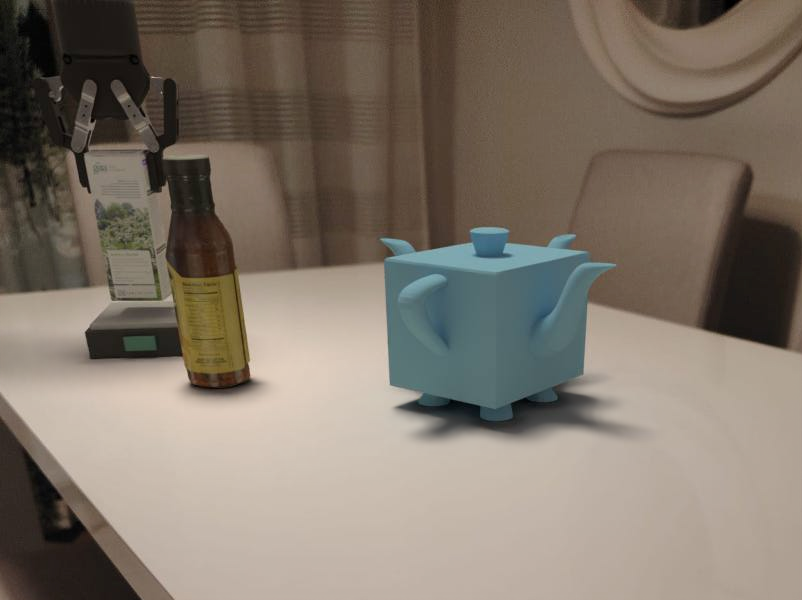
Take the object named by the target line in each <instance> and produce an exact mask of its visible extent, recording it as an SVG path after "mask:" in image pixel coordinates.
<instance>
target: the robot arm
mask: <svg viewBox="0 0 802 600" xmlns="http://www.w3.org/2000/svg"><path fill="white" fill-rule="evenodd" d="M50 3H51V8H52V12H53V17H54V23H55V28H56V29H55V30H56V34H57V41H58V44H59V45H58V46H59V49H60V54H61V60H62V61H61V62H62V63H61V64H62V65H61V70H60V72H59V73H60V74H59V75H56V76H50V77H43V76H42V77H40V76H39V77H35V78H34V79H32V82H31V83H32V87H33V90H34V93H35V96H36V99H37V102H38V105H39V109H40V111H41V114H42V117H43V120H44V123H45V126H46V129H47V131H48V134H49V137H50V140H51V142H52V144H53V145H55V146H57V147H63V148H65V149H68V150H70V151H71V152H72V155H74V161H75V165H76V170H77V175H78V181H79V184H80V185H81V188H86V190H87V193H88V194H89V195H91V190H90V185H89V180H88V174H87V169H86V164H85V158H84V156H85V155H84V154H85V153H86V152H88V151H90V149H89V148H90V147H89V146H90V142H91V139H92V134H93V131H94V129H95V125H96V122H97V121H105V120H109V119H115V120H118V121H130V123H131V125H132V126H133V127H134V129H135V131H136V132H137V133H138V135H139V136H140V138H141V140H142V142H143V143H144V144H145V147H146V148H147V149H148V151H149V153H147V160H148V166H149V173H150V179H151V185H152V191H153V193H159V194H161V193H162V192H163V187H165V186H167V183H168V182H167V178H166V176H165V174H164V172H163V164H162V158H163V157H164V151H165V150H166V149H168V148H169V147H171V146H174V145H177V144H178V143H179V141H180V84H179V82H178V80H177V79H175V78H173V77H167V78H162V77H156V76H151V74H150V73H149V72H148V70H147V68H146V66H145V64H144V60H143V51H142V46H141V40H140V33H139V26H138V20H137V14H136V6H135V1H134V0H50ZM63 88H64V89H65V90H66V91H67V92H68V94H69V95H70V96H71V97H72V98H73V99H74V101H75V103H77V104H78V109H77V113H76V117H75V121H74V129H73V134H70V133H68V130H67V127H66V124H65V121H64V119H63V116H62V112H61V110H60V109H61V108H60V106H59V103H58V102H60V101H61V100H62V89H63ZM151 88H152V89H153V90H154V92H155V95H156V99H157V100H158V101H159V102H161V103H163V134H160V135H158V133H157V132H156V130H155V128H154V126H153V125H152V122H151V120H150V118H149V116H148V114H147V113H146V111H145V109H144V108H143V106H142V105H143V104H144V101H145V99H146V98H147V95H148V93H149V91H150V89H151Z"/></svg>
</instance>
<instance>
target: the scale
mask: <svg viewBox="0 0 802 600" xmlns="http://www.w3.org/2000/svg"><path fill="white" fill-rule="evenodd" d="M84 335H85V341H86V344H87V345H86V346H87V350H88V354H89V358H90V359H117V358H118V359H119V358H120V359H123V358H146V357H147V358H149V357H179V356H182V357H183V353H182V348H181V342H180V336H179V331H178V324H177V320H176V314H175V308H174V302H173V300H163V301H119V302H110V303H109V304H108V305H107V306H106V307H105V308H104V309H103V310H102V311H101V312H100V313H99V315H97V317H96V318H94V320H93V321H92V322H91V323H89V327H88V328H87V329H86V330H84Z"/></svg>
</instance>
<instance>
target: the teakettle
mask: <svg viewBox="0 0 802 600" xmlns="http://www.w3.org/2000/svg"><path fill="white" fill-rule="evenodd" d="M469 235H470V239H471V242H467V243H461V244H456V245H455V244H454V245H449V246H444V247H437V248H434V249H428V250H427V249H426V250H421V251H416V250H415V248H414V247H413V246H412V244H411V243H409V242H408V241H407V240H404V239H397V238H390V237H389V238H387V237H386V238H384V237H383V238H380V239H379V241H380V242H382V243H383V244H384V245H385V246H386V247H387V248H388V249H389V250H391V252H392V253H393V255H394V256H390V257H389V256H388V257H385V259H384V260H383V269H384V270H383V271H384V294H385V313H386V314H385V315H386V336H387V337H386V338H387V357H388V374H389V375H388V379H389V381H388V382H389V386H391V387H395V388H400V389H404V390H407V391H408V390H409V391H413V392H418V393H421V396H420V397H419V399H418V401H417V403H418V404H419V405H421V406H426V407H442V406H446V405H448V404H450V402H451V400H453V401H457V402H462V403H467V404H471V405H475V406H480V407H479V408H480V409H479V417H480V419H482V420H486V421H489V422H503V421H508V420H511V419H513V418H514V414H513V408H512V403H514V402H517V401H519V400H522V399H524V398H526V400H528V401H531V402H534V403H551V402H555V401H557V400H558V395H557V394H556V393H555V391H554V389H553V387H556V386H558V385H560V384H561V385H562V384H563V383H565V382H568V381H571V380H573V379H576V378H578V377H580V376H581V377H582V376H583V375H584V372H585V371H584V370H585V353H586V335H587V321H588V320H587V319H588V304H589V302H588V301H589V290H590V288H591V287H592V285H593V283H594V281H595V280H596V279H597V278H598V277H599V276H600V275H602V274H604V273H605V272H607V271H609V270H611V269H614V268H616V267H617V266H618V265H617V264H615V263H609V262H591V253H590V252H589V251H584V250H576V249H569V248H570V246H571V244H572V243H573V242H574V241H575V239H576V238H577V235H576V234H569V233H568V234H561V235H558V236H555V237H553V238H552V239H551V241H550V242H549V244H548V245H547V246H538V245H529V244H519V243H512V242H511V243H509V242H508V239H509V235H510V230H509V229H508V228H503V227H497V226H496V227H495V226H483V227H474V228H472V229H470V230H469Z"/></svg>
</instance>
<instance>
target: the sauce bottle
mask: <svg viewBox="0 0 802 600" xmlns="http://www.w3.org/2000/svg"><path fill="white" fill-rule="evenodd" d="M162 164H163V172H164V174H165V176H166V178H167V182H166V183H167V187H168V193H169V195H168V196H169V199H170V210H171V214H170V221H169V228H168V235H167V241H166V254H165V257H166V262H167V269H168V274H169V279H170V285H171V291H172V294H171V297H172V301H173V302H174V308H175V314H176V320H177V324H178V331H179V336H180V342H181V348H182V353H183V355H182V359H183V364H184V367H185V370H186V372H187V378H188V381H190V383H191V384H192V385H193V386H198V387H201V388H217V389H218V388H219V389H226V388H231V387H234V386H237V385H241V384H244V383H247V381H249V380H250V377H251V370H250V365H249V363H250V361H251V358H250V349H249V341H248V334H247V328H246V321H245V313H244V306H243V301H242V300H243V298H242V293H241V285H240V278H239V272H238V271H239V269H238V266H237V265H236V259H235V258H236V257H235V252H234V244H233V239H232V237H231V234H230V232H229V231H228V230H227V228H226V227H225V225H224V223H223V222H222V221H221V220H220V218H219V216H218V215H217V214H216V211H215V210H216V204H215V202H214V197H213V190H212V182H211V174H212V168H211V167H212V166H211V160H210V157H209V155H206V154H198V153H197V154H194V153H192V154H188V153H184V154H171V155H170V154H169V155H163V158H162Z"/></svg>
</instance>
